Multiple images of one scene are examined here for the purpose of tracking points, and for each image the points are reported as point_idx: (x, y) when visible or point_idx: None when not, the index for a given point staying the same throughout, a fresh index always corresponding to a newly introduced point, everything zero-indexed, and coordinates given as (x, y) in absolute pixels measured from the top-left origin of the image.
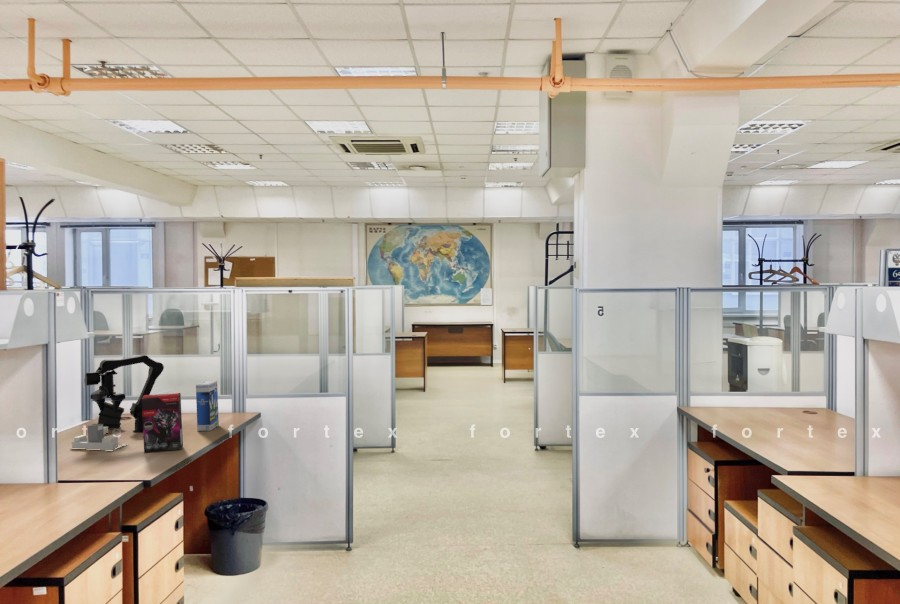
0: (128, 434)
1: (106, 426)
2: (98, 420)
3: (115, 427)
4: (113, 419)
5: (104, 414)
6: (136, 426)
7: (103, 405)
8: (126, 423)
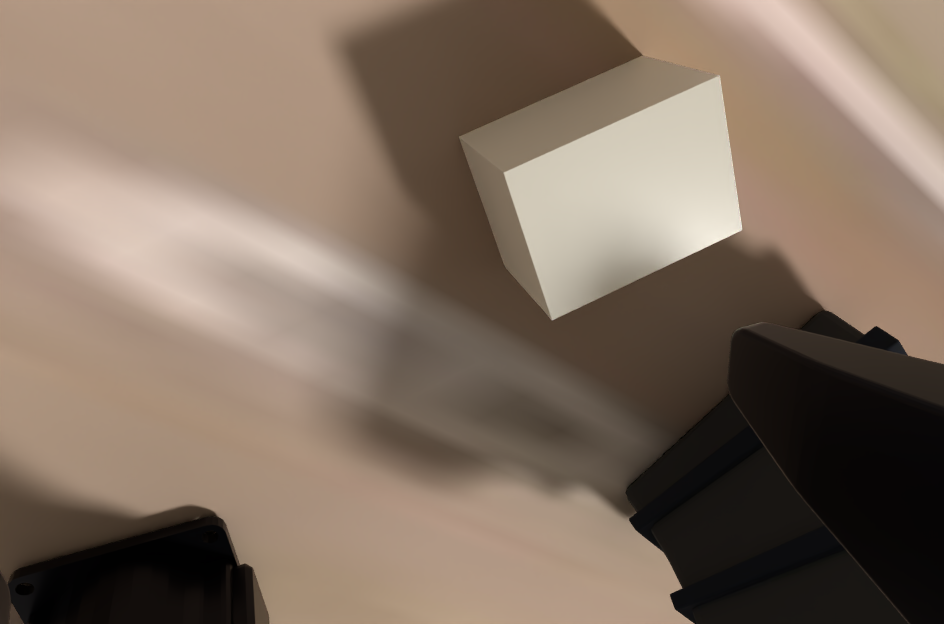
0: (102, 404)
1: None
2: None
3: (662, 469)
4: (753, 537)
5: None
6: (144, 615)
7: (923, 598)
8: None
